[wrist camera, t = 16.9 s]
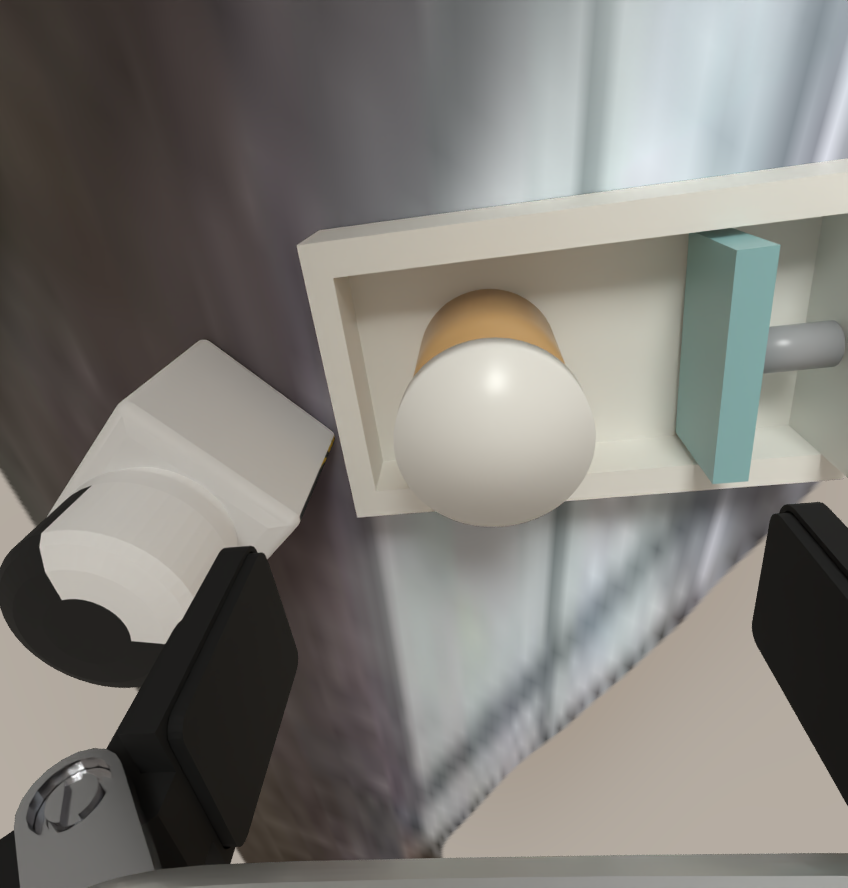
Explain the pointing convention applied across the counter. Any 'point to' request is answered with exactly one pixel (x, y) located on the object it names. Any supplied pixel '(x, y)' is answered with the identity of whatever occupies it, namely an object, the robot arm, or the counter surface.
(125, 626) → the medicine bottle
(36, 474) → the counter surface
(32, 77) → the counter surface
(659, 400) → the lane
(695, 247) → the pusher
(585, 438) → the jar
